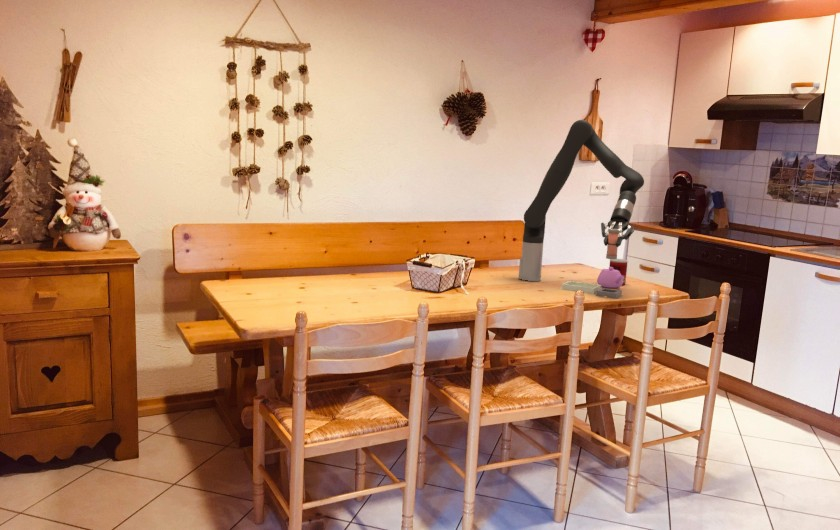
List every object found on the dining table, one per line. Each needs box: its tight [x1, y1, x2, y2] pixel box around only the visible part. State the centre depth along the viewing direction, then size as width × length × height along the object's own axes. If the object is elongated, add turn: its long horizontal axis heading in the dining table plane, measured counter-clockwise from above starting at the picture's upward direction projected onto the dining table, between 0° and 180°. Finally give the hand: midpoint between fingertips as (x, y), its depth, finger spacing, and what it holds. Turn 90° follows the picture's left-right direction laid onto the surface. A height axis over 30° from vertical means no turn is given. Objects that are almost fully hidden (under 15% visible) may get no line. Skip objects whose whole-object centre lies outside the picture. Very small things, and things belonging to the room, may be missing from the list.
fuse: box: [605, 227, 620, 260], centre depth 285 cm, size 4×4×12 cm
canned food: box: [608, 258, 628, 286], centre depth 319 cm, size 8×8×11 cm
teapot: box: [596, 267, 624, 289], centre depth 307 cm, size 10×15×9 cm
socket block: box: [594, 287, 623, 300], centre depth 288 cm, size 9×11×3 cm
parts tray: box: [560, 280, 602, 295], centre depth 298 cm, size 14×10×3 cm
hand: (611, 244), depth 283 cm, fingers closed on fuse, 4 cm apart
